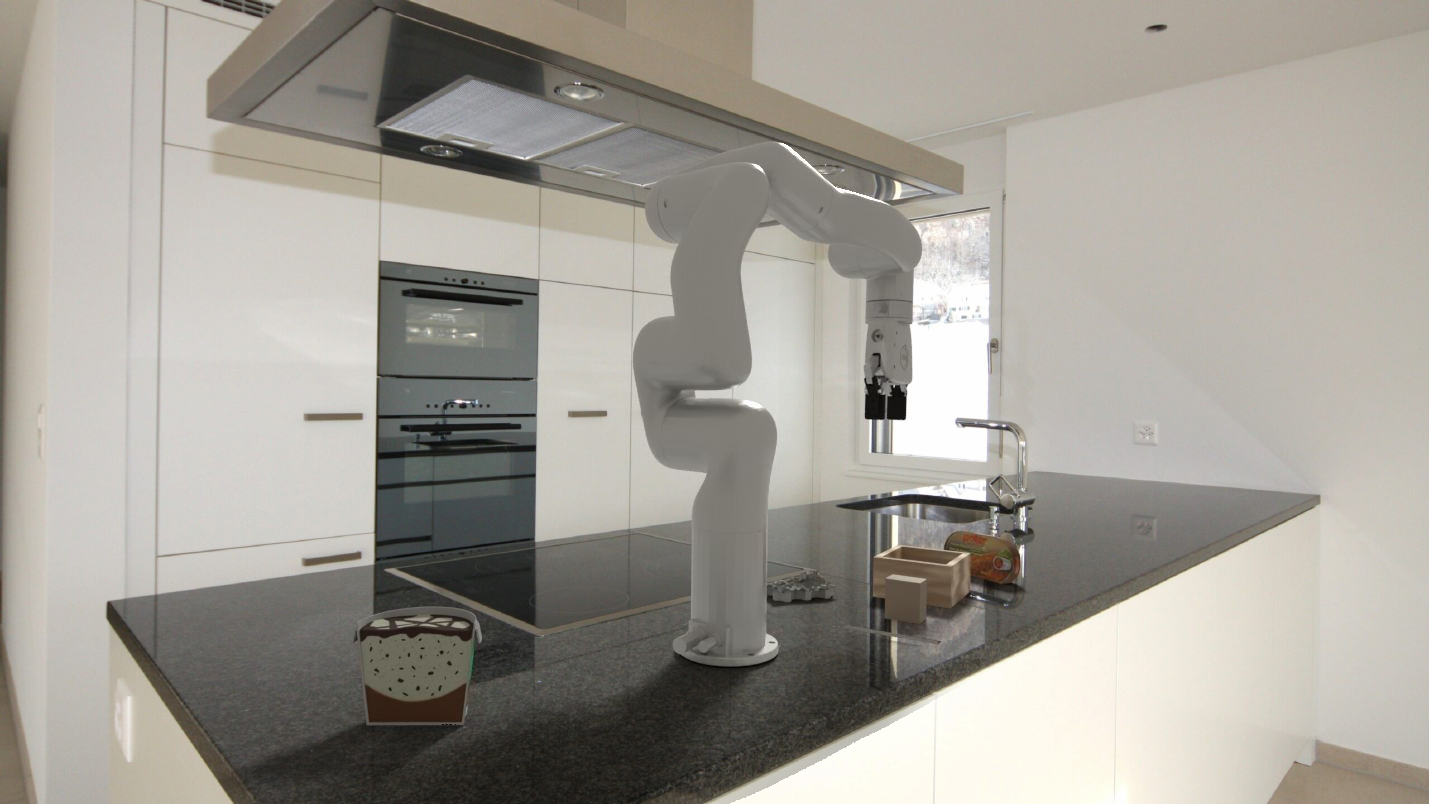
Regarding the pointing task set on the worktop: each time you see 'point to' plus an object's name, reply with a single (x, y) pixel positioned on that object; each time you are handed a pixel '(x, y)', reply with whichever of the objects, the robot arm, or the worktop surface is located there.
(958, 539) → the tin
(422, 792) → the worktop surface
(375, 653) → the food container
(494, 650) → the worktop surface
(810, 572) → the egg carton
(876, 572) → the box
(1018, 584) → the worktop surface
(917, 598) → the lid
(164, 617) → the worktop surface
